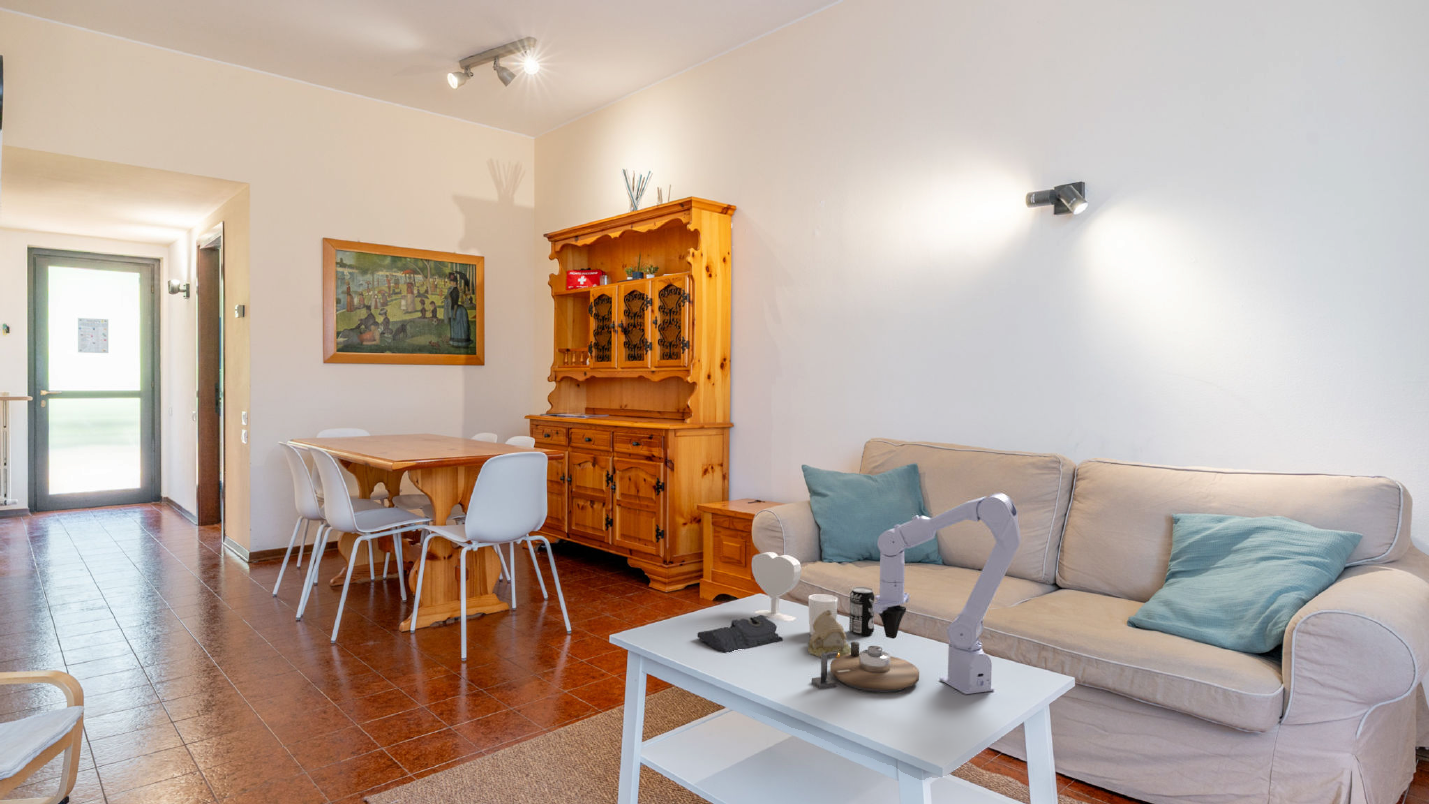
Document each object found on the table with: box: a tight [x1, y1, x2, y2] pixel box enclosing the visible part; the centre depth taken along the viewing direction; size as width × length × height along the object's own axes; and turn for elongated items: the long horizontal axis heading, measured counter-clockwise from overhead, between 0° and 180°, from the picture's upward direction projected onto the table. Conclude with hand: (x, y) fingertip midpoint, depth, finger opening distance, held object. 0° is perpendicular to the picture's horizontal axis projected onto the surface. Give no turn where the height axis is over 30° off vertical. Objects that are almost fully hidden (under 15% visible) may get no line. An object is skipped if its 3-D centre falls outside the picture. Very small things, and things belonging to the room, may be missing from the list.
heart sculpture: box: [751, 551, 802, 622], centre depth 228 cm, size 16×5×18 cm, turn 49°
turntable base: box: [841, 681, 906, 693], centre depth 179 cm, size 16×16×1 cm
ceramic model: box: [807, 610, 851, 659], centre depth 199 cm, size 14×11×10 cm
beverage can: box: [848, 586, 876, 637], centre depth 213 cm, size 7×7×12 cm
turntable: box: [829, 641, 920, 690], centre depth 179 cm, size 20×20×4 cm
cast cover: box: [859, 645, 891, 673], centre depth 179 cm, size 7×7×5 cm
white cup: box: [807, 593, 838, 636], centre depth 211 cm, size 8×8×10 cm
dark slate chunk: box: [697, 614, 784, 653], centre depth 206 cm, size 15×22×5 cm
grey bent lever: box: [811, 652, 840, 690], centre depth 175 cm, size 4×6×7 cm, turn 110°
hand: (891, 637), depth 185 cm, fingers closed
